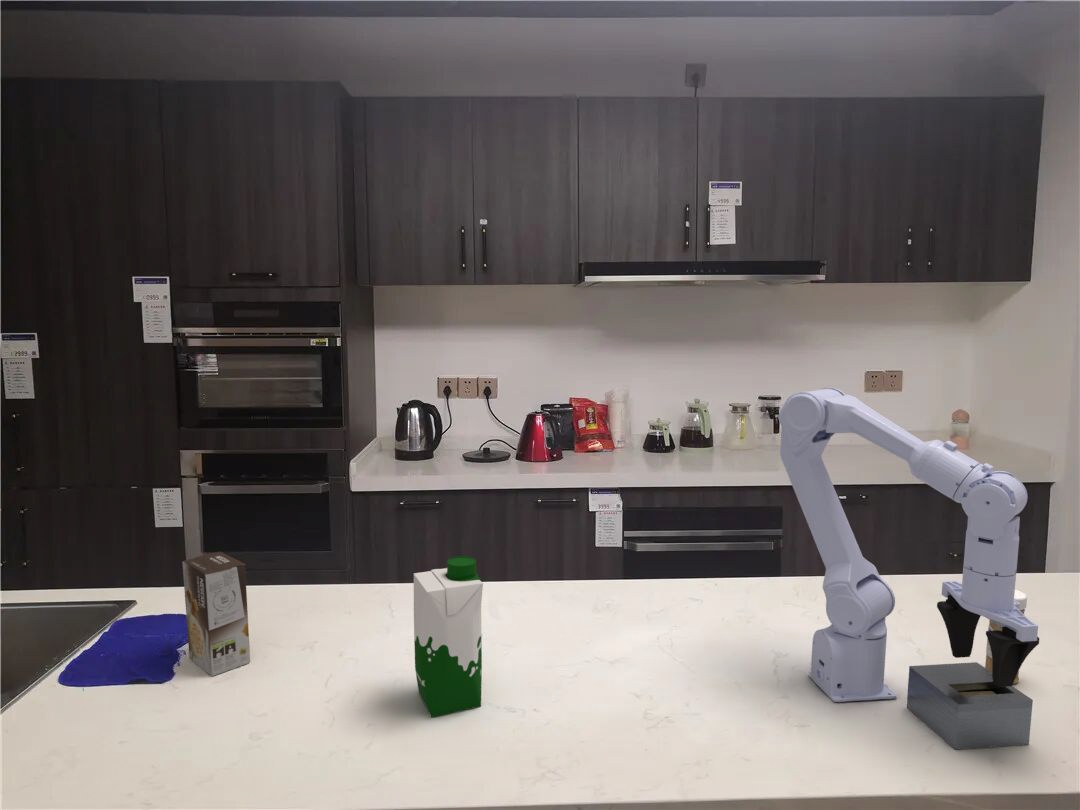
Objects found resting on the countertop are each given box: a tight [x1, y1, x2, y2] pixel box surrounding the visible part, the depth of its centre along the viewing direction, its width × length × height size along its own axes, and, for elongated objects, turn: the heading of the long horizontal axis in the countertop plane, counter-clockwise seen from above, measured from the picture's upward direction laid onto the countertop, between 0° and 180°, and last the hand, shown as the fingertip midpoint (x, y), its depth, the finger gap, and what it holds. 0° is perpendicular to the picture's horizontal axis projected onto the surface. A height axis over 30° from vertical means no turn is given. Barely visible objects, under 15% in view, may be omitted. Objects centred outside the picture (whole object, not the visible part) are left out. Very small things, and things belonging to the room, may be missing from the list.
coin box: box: [906, 661, 1034, 751], centre depth 96 cm, size 10×10×6 cm
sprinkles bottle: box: [984, 589, 1028, 685], centre depth 108 cm, size 5×5×13 cm
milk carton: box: [413, 556, 484, 718], centre depth 102 cm, size 9×9×20 cm
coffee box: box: [181, 551, 251, 677], centre depth 114 cm, size 9×6×16 cm
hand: (981, 670), depth 94 cm, fingers open, 7 cm apart
